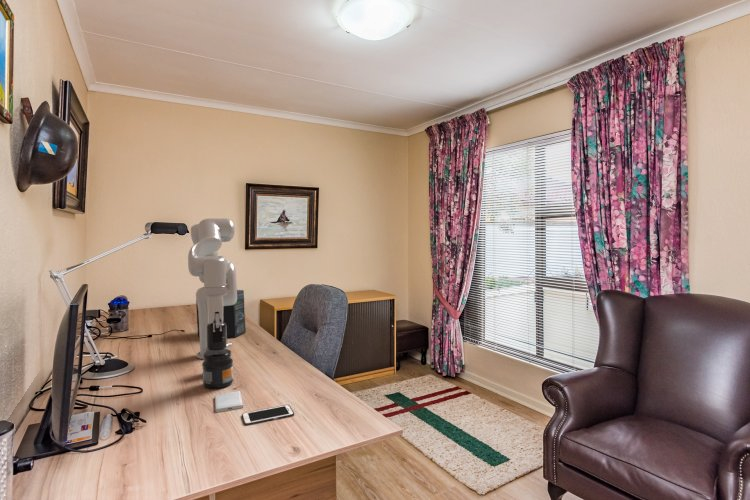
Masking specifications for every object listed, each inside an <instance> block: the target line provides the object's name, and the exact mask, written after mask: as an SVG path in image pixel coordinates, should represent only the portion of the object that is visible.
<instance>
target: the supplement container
mask: <svg viewBox="0 0 750 500" xmlns="http://www.w3.org/2000/svg"><path fill="white" fill-rule="evenodd" d="M202 360H203V361H202V364H201V366H202V385H203V387H204V388H206V389H209V390H218V389H219V390H220V389H223V388H226V387H229V386H230V385H232V383H234V367H233V363H234V362H233V361H234V359H233V358H232V351H231V350H230V349H228V348H226V349H222V350H210V351H207V352H205V353H204V354H203V359H202Z"/></svg>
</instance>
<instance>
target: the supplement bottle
mask: <svg viewBox="0 0 750 500" xmlns="http://www.w3.org/2000/svg"><path fill="white" fill-rule="evenodd" d="M223 320H224V319H223ZM219 322H220V321H219ZM214 323H216V322H214ZM221 329H222V342H218V343H213V323H211V324H208V325H207V349H208V350H222V349H225V348H226V347H227V344H228V341H227V340H228V337H227V326H226V323H224V322H222V323H221ZM226 349H227V348H226Z"/></svg>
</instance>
